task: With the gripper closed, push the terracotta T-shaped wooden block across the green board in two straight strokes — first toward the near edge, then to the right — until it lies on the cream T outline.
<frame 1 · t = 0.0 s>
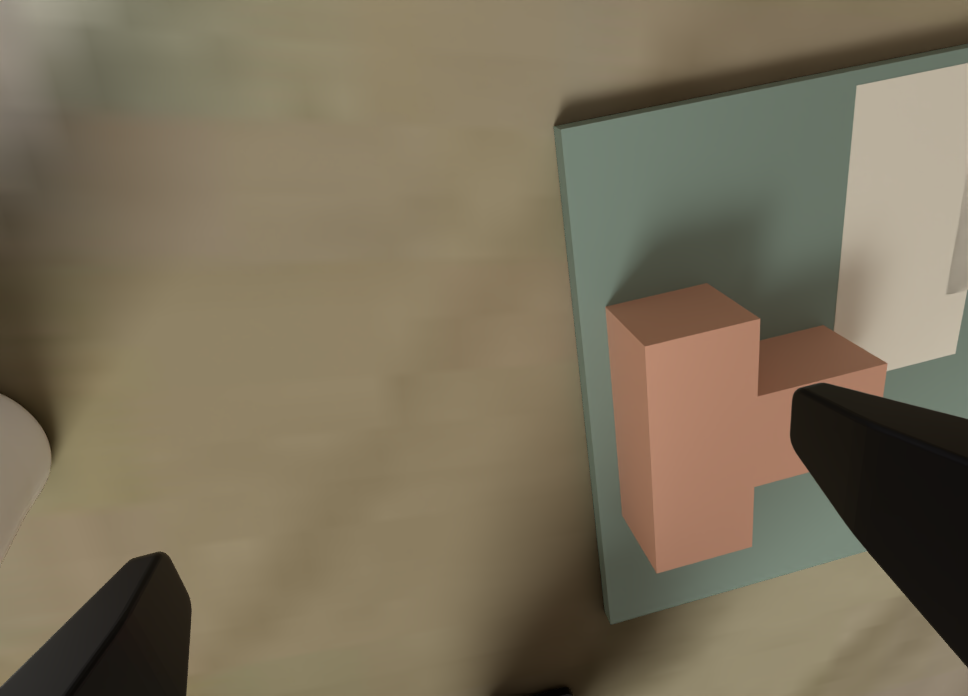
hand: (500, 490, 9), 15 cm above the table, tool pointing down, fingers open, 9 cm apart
board: (849, 349, 28), on the table
tee: (661, 408, 27), point 1 cm above the table, touching board
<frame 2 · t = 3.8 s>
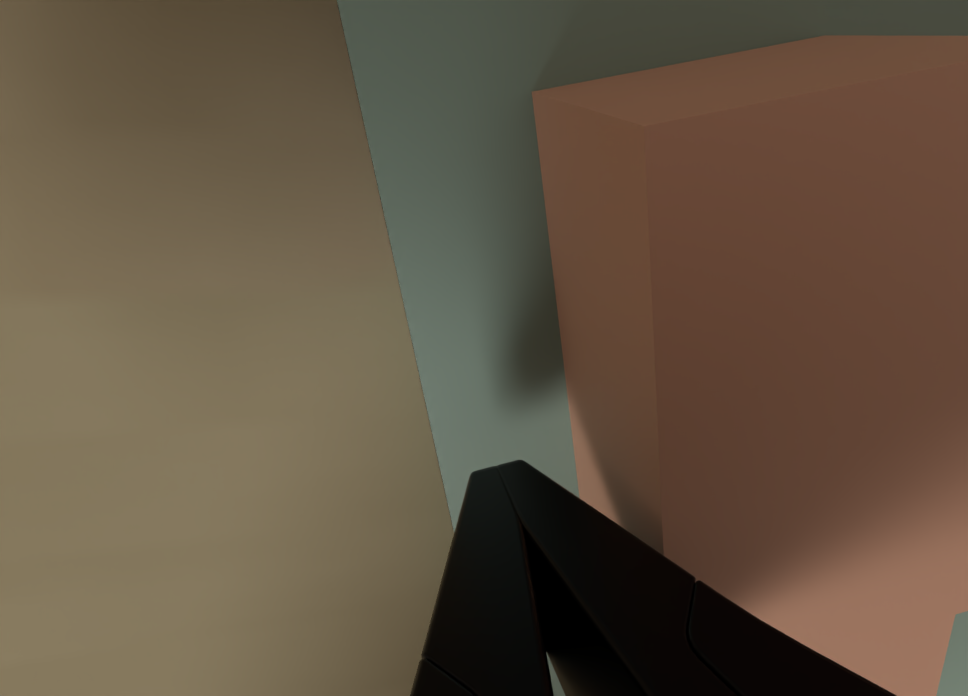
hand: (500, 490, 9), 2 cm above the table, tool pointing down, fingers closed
tee: (688, 393, 11), point 1 cm above the table, touching gripper
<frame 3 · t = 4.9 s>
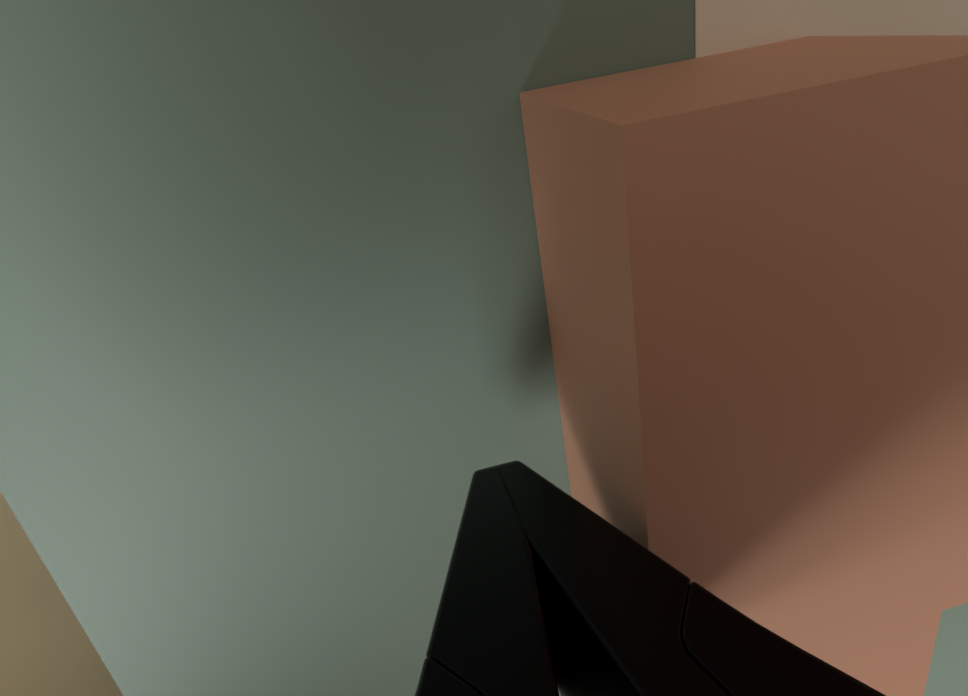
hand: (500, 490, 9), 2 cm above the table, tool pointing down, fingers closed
board: (754, 352, 12), on the table
tee: (678, 391, 11), point 1 cm above the table, touching board, gripper
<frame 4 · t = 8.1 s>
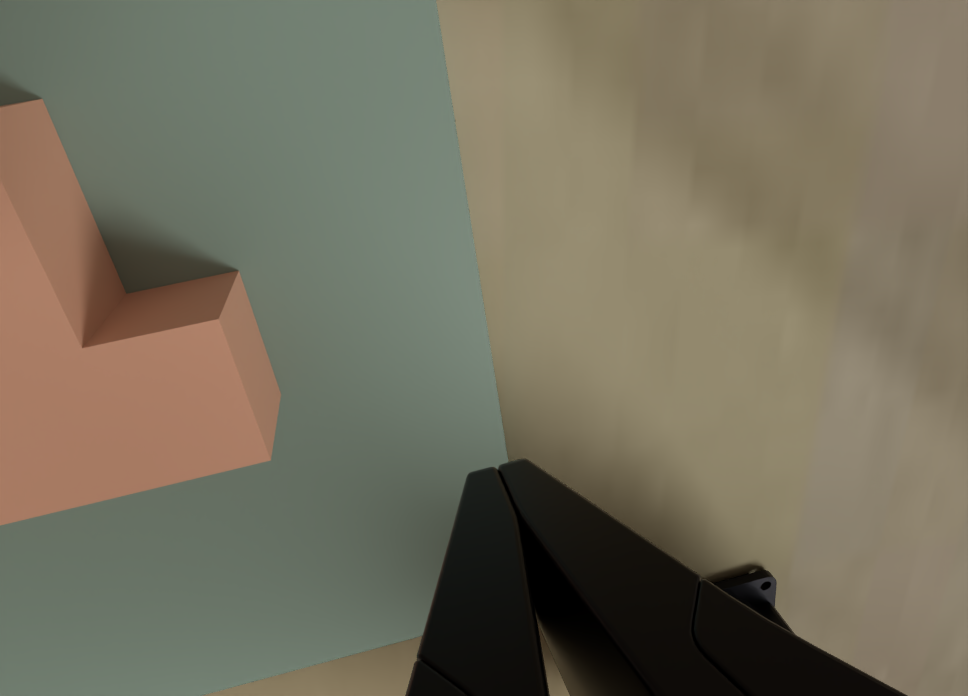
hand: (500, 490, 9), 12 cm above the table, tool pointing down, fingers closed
board: (111, 403, 20), on the table
tee: (80, 374, 18), point 1 cm above the table, touching board
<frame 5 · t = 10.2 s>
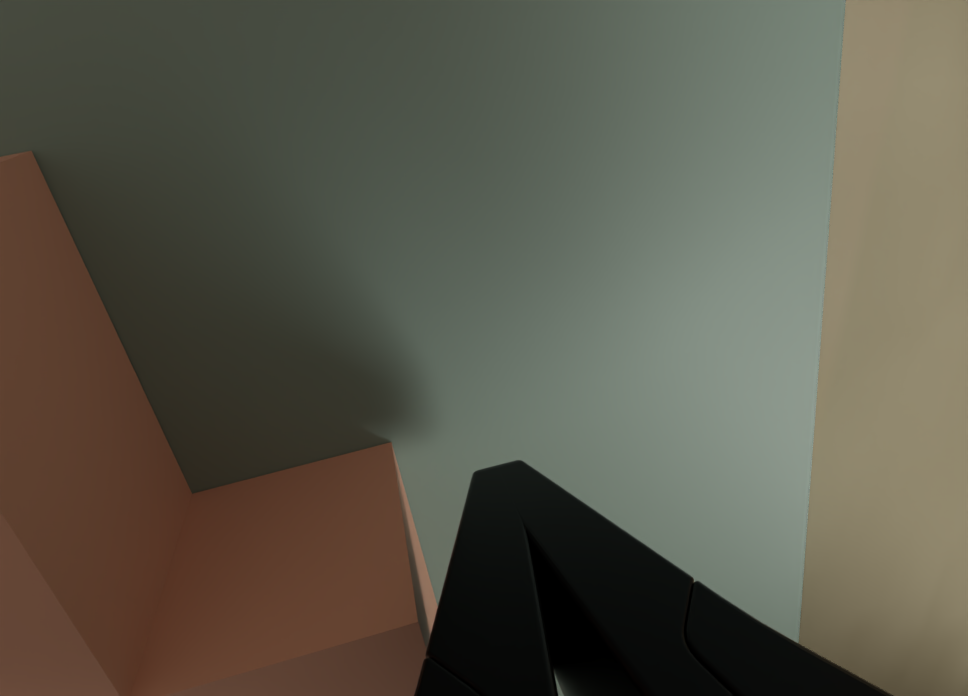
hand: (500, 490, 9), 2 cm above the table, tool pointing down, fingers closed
board: (199, 633, 12), on the table
tee: (109, 625, 10), point 1 cm above the table, touching gripper
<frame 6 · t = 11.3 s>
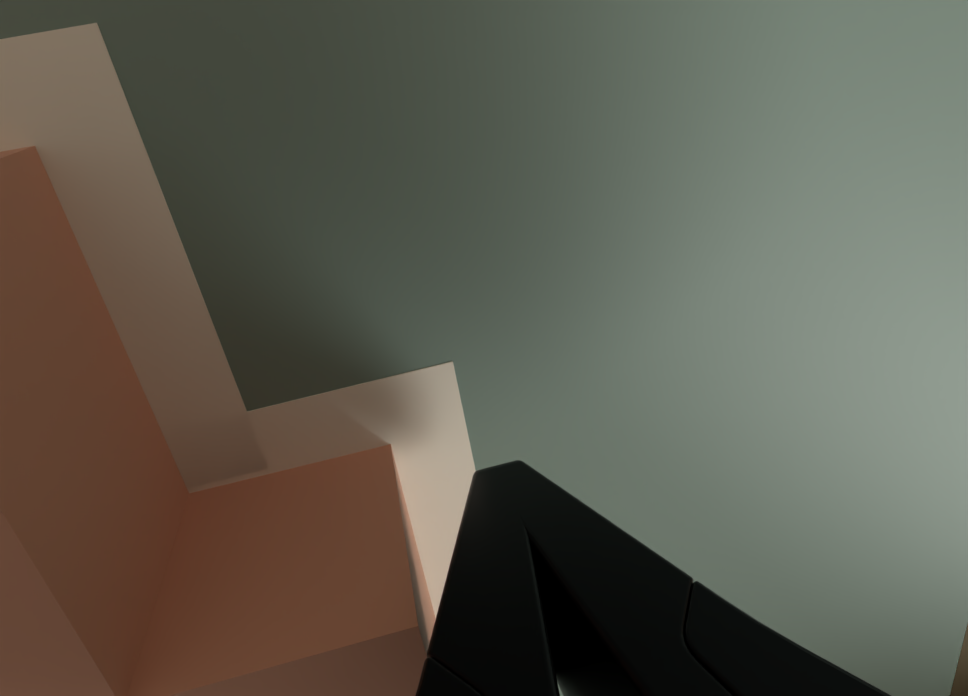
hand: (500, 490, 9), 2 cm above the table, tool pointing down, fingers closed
board: (437, 564, 12), on the table
tee: (102, 625, 10), point 1 cm above the table, touching board, gripper
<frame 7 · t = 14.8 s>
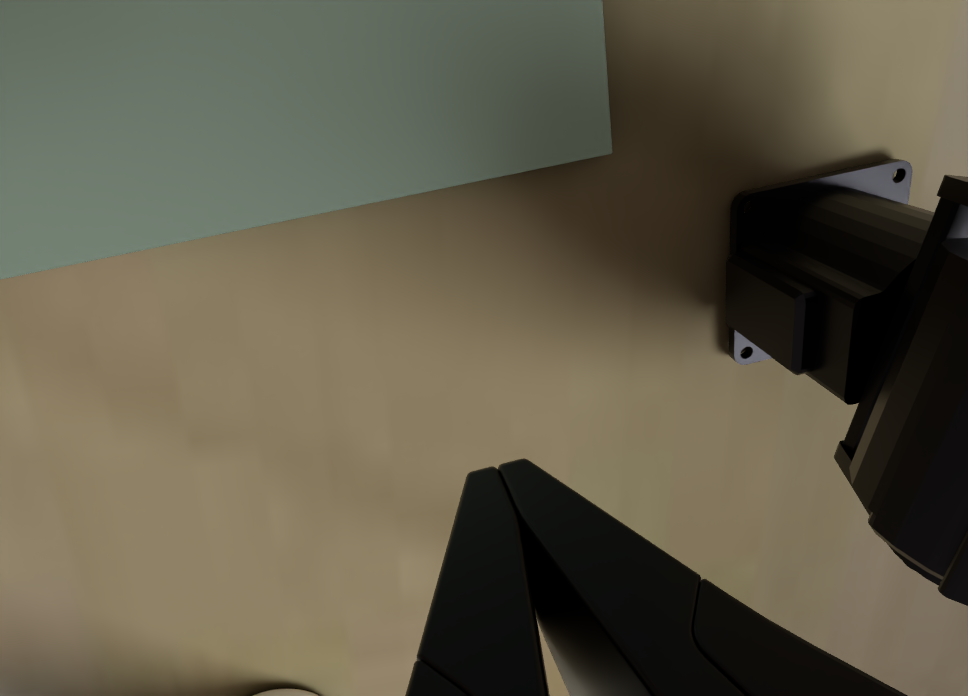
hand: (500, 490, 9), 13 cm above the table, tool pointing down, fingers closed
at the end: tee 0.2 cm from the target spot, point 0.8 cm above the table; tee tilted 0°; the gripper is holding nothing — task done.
